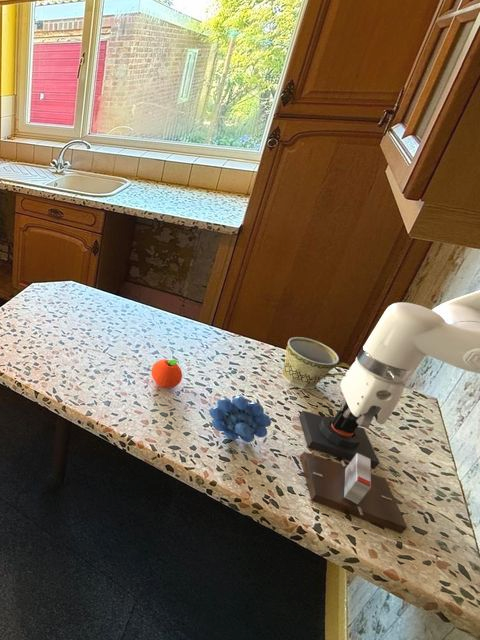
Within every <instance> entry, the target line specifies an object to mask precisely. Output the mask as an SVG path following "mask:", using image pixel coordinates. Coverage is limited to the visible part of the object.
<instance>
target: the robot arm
mask: <svg viewBox="0 0 480 640" xmlns="http://www.w3.org/2000/svg"><path fill="white" fill-rule="evenodd" d="M426 356H427V357H431V358H433V359H435V360H437V361H438V360H439V361H440V362H443V363H445V364H448V365H450V366H451V367H455V368H458V369H461V370H463V371H466V372H471V373H475V374H480V290H477V291H474V292H471V293H468V294H467V293H466V294H464V295H461V296H459V297H456V298H453V299H450V300H448V301H445V302H443V303H441V304H439V305H437V306H435V307H434V308H432V309H431V308H428V307H425V306H423V305H419V304H415V303H412V302H404V301H401V302H394V303H392V304H390V305H388V306H387V308H386V309H385V310H384V312H383V314H381V317H380V318H379V320H378V322H377V323H376V325H375V326H374V328H373V330H372V331H371V333H370V334H369V336H368V338H367V340H366V341H365V343H364V344H363V346H362V347H361V349H360V350H359V352H358V354H357V356H356V357H355V360H354V362H353V363H352V364H351V365H350V366H351V367H350V368H348V370H347V371H346V372H345V373H346V374H345V375H343V378H342V379H341V381H340V390H341V392H342V395H343V399H342V401H341V403H340V405H339V410H338V411H337V412H336V414H335V415H334V416H333V417H334V419H333V420H332V424H333V427H334V428H335V429H338V430H341V431H344V432H348V433H353V432H354V431H355V429H356V428H357V427H361V428H364V429H365V428H366V429H369V428H370V426H371V424H372V421H373V420H374V418H375V420H376V422H377V424H379V425H384V424H386V423H387V421H388V420H389V418H390V417H391V415H392V413H393V412H394V410H395V409H396V407H397V405H398V403H399V402H400V400H401V398H402V395H403V392H404V389H405V386H406V385H405V383H407V382H409V380H410V378H411V377H412V376H413V374H414V373H415V371H416V370H417V369H418V368H419V366H420V365H421V363H422V362H423V361H424V360H425V358H426Z"/></svg>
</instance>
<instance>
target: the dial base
mask: <svg viewBox="0 0 480 640" xmlns="http://www.w3.org/2000/svg"><path fill="white" fill-rule="evenodd" d="M299 459H300V464H301V467H302V471H303V474H304V479H305V482H306V485H307V489H308V493H309V497H310V501H311V502H314V503H317V504H319V505H322V506H325V507H328V508H330V509H333V510H335V511H338V512H340V513H344V514H346V515H349V516H352V517H355V518H357V519H360V520H363V521H366V522H368V523H371V524H374V525H376V526H379V527H381V528H384V529H388V530H390V531H393V532H395V533H399V534H403V533H404V532H405V531H406V530H408V526H407V523H406V521H405V519H404V517H403V514H402V512H401V509H400V508H399V506H398V504H397V501H396V498H395V496H394V494H393V492H392V490H391V488H390V485H389V483H388V481H387V478H385V477H382V476H379V475H377V474H373V473H371V489H370V490H369V491H368V492H367V494H366V495H365V496H364V497H363V499H362V500H361V501H360V502H359V504H356V503H354V502H352V501H350V500H348V499H346V498H344V488H345V469H346V467H347V466H348V465H346V464H345V460H344V459H341V460H340V461H341V463H340V462H337V461H334V460H331V459H328V458H324V457H322V456H319V455H316V454H313V453H310V452H306V451H303V452H302V454H301V455H300V457H299Z"/></svg>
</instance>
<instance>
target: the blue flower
mask: <svg viewBox="0 0 480 640" xmlns="http://www.w3.org/2000/svg"><path fill="white" fill-rule="evenodd" d="M216 405H217V406H212V407H210V408H209V410H208V412H209V415H210V416H211V418H212V420H211V425H212V427H213V428H214V430H217V432H223V435H224V436H225V437H226V438H227V439H228V440H232V441H233V440H235V441H236V440H237V439H239V438H240V440H242V441H243V442H245V443H252V442H253V441H254V440H255V436H256V437H258V438H265V437H267V435H268V429H267V428H269V427H270V426H271V424H272V419H271V418H270V416H269V415H268V414H266V413H265V410H264V407H263V406H262V405H261V403H258V402H256V401H252V402H251V401H250V402H249V401H248V400H247V399H246V398H245V397H243V396H241V395H236V396H234V397H233V398H232V400H230V399H228V398H227V397H221V398H219V399H218V400H217V402H216Z"/></svg>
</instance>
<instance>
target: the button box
mask: <svg viewBox="0 0 480 640" xmlns="http://www.w3.org/2000/svg"><path fill="white" fill-rule="evenodd" d="M334 417H335V416H334V415H333V416H331V415H330V416H323V415H320V414H316V413H313V412H310V411H306V410H302V411H300V414H299V416H298V419H299V422H300V426H301V429H302V432H303V436H304V440H305V444H306V447H307V449H310V450H312V451H313V450H314V451H316V452H319V453H323V454H326V455H328V456H332V457H335V458H338V459H341V460H343V461H348V462H349V463H350V462H351V460H352V459H353V458H354V456H355V455H356V453H358V454H361V455H363V456H365V457H367V458H369V459H371V470H372V469H373V470H375V469H376V468H377V467H378V465H379V464H380V461H379V459H378V457H377V454H376V452H375V450H374V448H373V446H372V443H371V441H370V439H369V437H368V434H367V432H366V430H365V427H361V426H357V428H356V429H355V431H354V432H353V436H352V437H351V438H348V437H344V436H341V435H340V434H338V433H336V432H335V431H334V430H333V429H332V428H331V427H330V425H331V424H332V420H333V419H334Z"/></svg>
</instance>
